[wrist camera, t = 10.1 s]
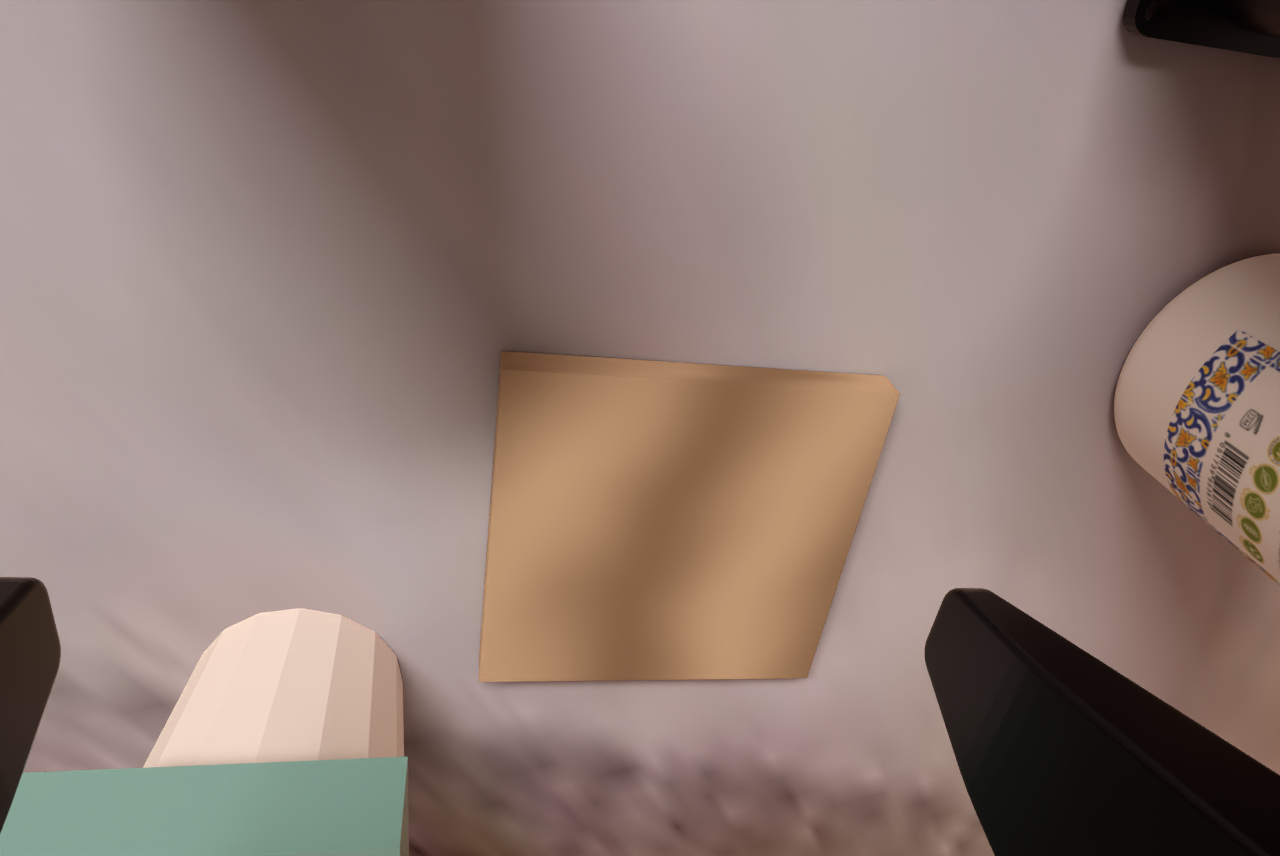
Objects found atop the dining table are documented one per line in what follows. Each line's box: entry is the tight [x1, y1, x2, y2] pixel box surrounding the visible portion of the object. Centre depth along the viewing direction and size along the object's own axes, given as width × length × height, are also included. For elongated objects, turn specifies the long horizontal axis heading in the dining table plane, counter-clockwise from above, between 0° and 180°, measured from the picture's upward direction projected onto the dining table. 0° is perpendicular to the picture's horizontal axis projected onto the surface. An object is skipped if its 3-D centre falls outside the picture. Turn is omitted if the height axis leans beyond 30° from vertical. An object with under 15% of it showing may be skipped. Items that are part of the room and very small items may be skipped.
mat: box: [479, 351, 900, 682], centre depth 24 cm, size 10×10×1 cm
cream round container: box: [143, 608, 404, 768], centre depth 22 cm, size 7×7×7 cm
